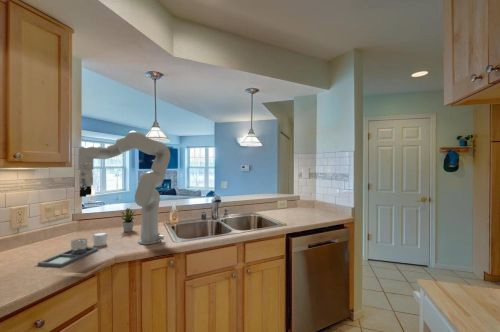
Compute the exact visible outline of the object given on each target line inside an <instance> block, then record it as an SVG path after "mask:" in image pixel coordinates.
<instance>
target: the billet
mask: <svg viewBox="0 0 500 332" xmlns="http://www.w3.org/2000/svg"><path fill="white" fill-rule="evenodd" d="M87 247H88V238H75V239H72V240H71V242H70V250H71V254H74V255H81V254H84V253H86V252H87Z"/></svg>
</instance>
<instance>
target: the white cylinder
mask: <svg viewBox="0 0 500 332" xmlns="http://www.w3.org/2000/svg"><path fill="white" fill-rule="evenodd" d="M92 238H93V239H92V240H93V246H94V247H102V246H104V245H106V244H107V239H108V233H107V232H96V233H93V234H92Z"/></svg>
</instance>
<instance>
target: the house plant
mask: <svg viewBox="0 0 500 332" xmlns="http://www.w3.org/2000/svg"><path fill="white" fill-rule="evenodd" d="M117 210H119V209H117ZM120 212H121V214H122V215H119V217H118V219H120V218H121V219H122V229H123V232H125V233H127V232H132V231H133V228H134V222H135V221H134V219H135V216H136V215H137V214H135V211H133V209H132V208H131V207H129V208H128V207H126V209H125V213H124V211H123V210H122V209H120ZM134 214H135V215H134ZM137 216H138V215H137Z"/></svg>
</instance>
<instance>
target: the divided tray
mask: <svg viewBox="0 0 500 332" xmlns="http://www.w3.org/2000/svg"><path fill="white" fill-rule="evenodd" d="M100 251H101V249H99V248H98V247H89V246H87V252H86V253H84V254H81V255H74V254H71V249H69V250H67V251H64V252H62V253H59V254H56V255H54V256H50V257H49V258H46V259H44V260H41V261H38V262H37V264H35V265H34V267H38V268H51V269H64V268H65V267H68V266H69V265H70V266H71V264H73V263H76V262H78V261H81V260H84V259H85V258H86V257H90V256H91V255H93V254H95V253H97V252H100Z"/></svg>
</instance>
